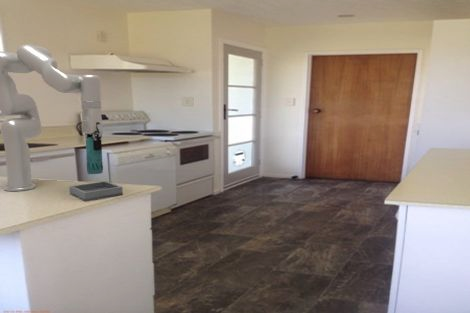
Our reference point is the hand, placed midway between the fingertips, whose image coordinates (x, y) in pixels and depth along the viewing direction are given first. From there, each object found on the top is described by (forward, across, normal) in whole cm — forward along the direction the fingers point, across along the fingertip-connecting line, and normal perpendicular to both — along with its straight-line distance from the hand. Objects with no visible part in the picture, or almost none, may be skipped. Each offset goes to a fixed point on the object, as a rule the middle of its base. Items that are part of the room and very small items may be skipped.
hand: (94, 148), depth 162 cm
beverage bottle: (+12, 0, 0) cm, 12 cm away
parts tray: (+20, 0, 0) cm, 20 cm away
